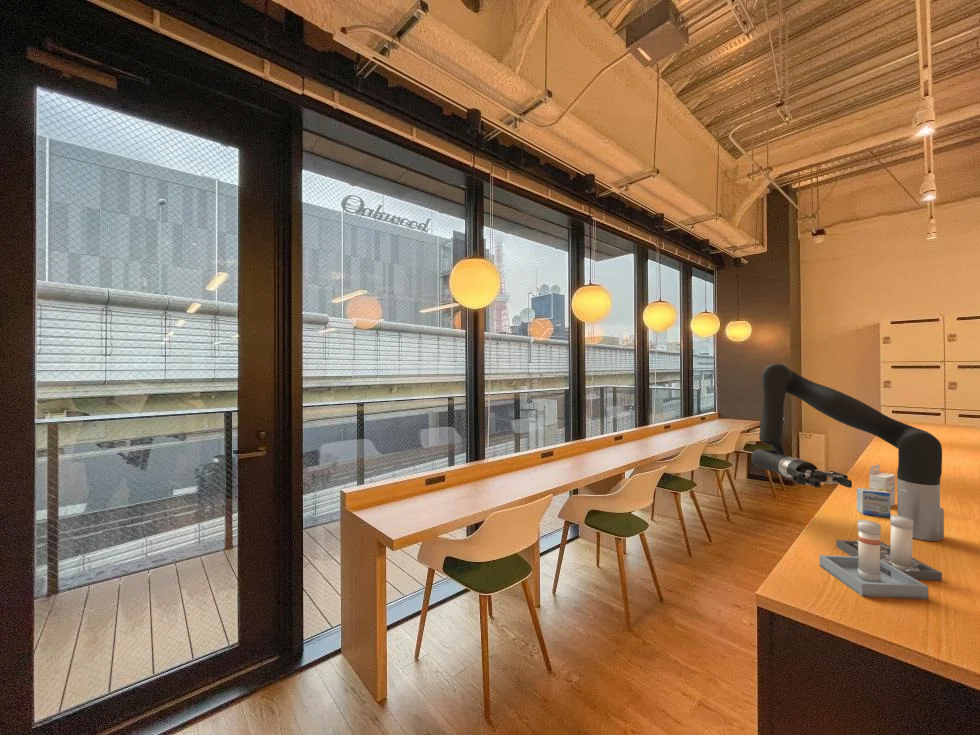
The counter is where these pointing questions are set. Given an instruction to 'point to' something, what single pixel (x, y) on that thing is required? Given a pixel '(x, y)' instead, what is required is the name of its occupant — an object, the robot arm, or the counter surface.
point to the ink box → (883, 482)
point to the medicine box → (873, 502)
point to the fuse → (901, 541)
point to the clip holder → (916, 572)
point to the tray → (889, 586)
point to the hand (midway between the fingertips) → (834, 484)
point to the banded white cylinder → (869, 551)
